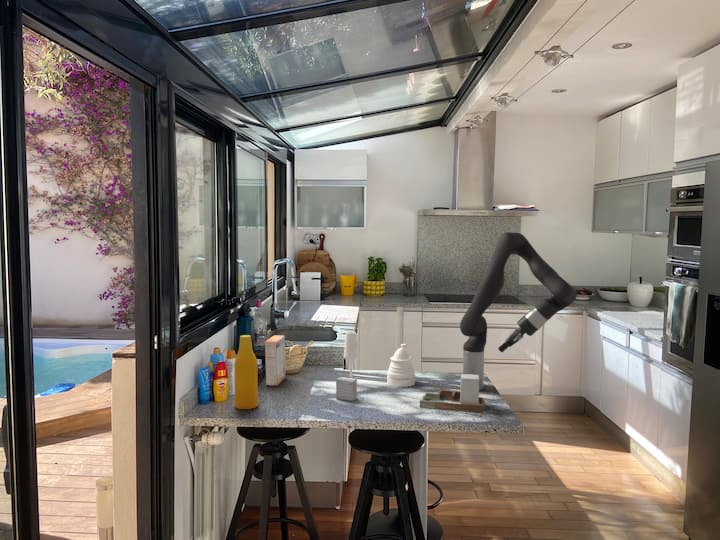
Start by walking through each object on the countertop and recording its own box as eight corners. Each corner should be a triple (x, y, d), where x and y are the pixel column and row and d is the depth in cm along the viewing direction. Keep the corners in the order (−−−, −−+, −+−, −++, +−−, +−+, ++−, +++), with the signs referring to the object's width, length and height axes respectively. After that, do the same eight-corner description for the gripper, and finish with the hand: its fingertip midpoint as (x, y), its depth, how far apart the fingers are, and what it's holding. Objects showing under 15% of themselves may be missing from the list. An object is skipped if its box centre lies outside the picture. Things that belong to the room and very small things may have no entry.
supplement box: (478, 410, 221) (479, 379, 220) (459, 409, 223) (460, 378, 222) (478, 404, 229) (479, 374, 228) (460, 403, 230) (460, 373, 229)
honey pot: (396, 377, 269) (396, 341, 267) (419, 382, 261) (420, 344, 260) (381, 383, 258) (382, 345, 257) (405, 388, 251) (405, 349, 249)
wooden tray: (427, 394, 242) (427, 388, 242) (485, 399, 235) (485, 393, 235) (419, 406, 226) (419, 400, 225) (482, 412, 219) (482, 406, 218)
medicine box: (357, 398, 236) (357, 378, 236) (352, 401, 232) (352, 381, 232) (340, 396, 240) (340, 376, 239) (335, 399, 236) (335, 379, 235)
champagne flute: (360, 385, 256) (360, 333, 254) (345, 386, 254) (345, 334, 252) (355, 381, 263) (355, 331, 261) (342, 382, 261) (342, 331, 259)
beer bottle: (250, 411, 220) (249, 339, 218) (230, 408, 223) (229, 337, 221) (262, 404, 229) (261, 334, 227) (242, 401, 232) (241, 333, 230)
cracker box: (273, 377, 269) (273, 334, 267) (285, 378, 268) (285, 335, 266) (264, 385, 255) (264, 340, 253) (277, 386, 254) (277, 341, 253)
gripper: (539, 331, 210) (505, 361, 215) (539, 325, 223) (507, 353, 227) (525, 317, 211) (491, 347, 216) (525, 311, 224) (494, 340, 228)
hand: (499, 350), depth 221 cm, fingers closed
